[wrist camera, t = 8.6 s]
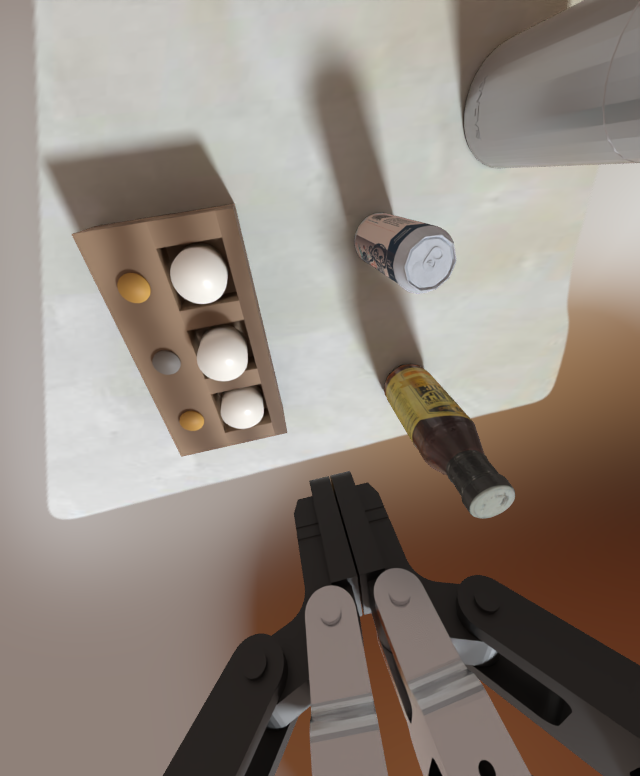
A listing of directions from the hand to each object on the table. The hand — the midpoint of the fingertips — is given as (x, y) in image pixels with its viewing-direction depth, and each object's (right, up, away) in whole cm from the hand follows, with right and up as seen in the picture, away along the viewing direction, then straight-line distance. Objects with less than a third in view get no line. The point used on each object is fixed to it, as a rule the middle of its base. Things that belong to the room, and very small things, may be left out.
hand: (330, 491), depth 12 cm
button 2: (-10, +8, +21) cm, 24 cm away
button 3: (-9, +3, +26) cm, 27 cm away
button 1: (-11, +14, +18) cm, 25 cm away
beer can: (+5, +19, +22) cm, 29 cm away
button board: (-12, +10, +24) cm, 28 cm away
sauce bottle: (+10, +5, +32) cm, 34 cm away
